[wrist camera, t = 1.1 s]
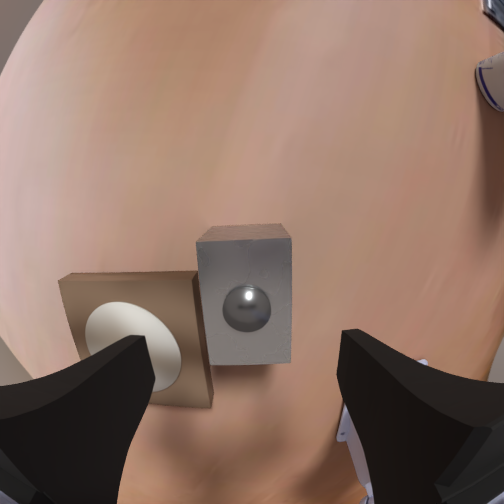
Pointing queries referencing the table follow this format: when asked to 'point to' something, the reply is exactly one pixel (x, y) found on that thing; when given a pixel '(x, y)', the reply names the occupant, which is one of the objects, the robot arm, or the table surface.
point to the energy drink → (492, 80)
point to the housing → (246, 293)
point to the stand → (145, 326)
